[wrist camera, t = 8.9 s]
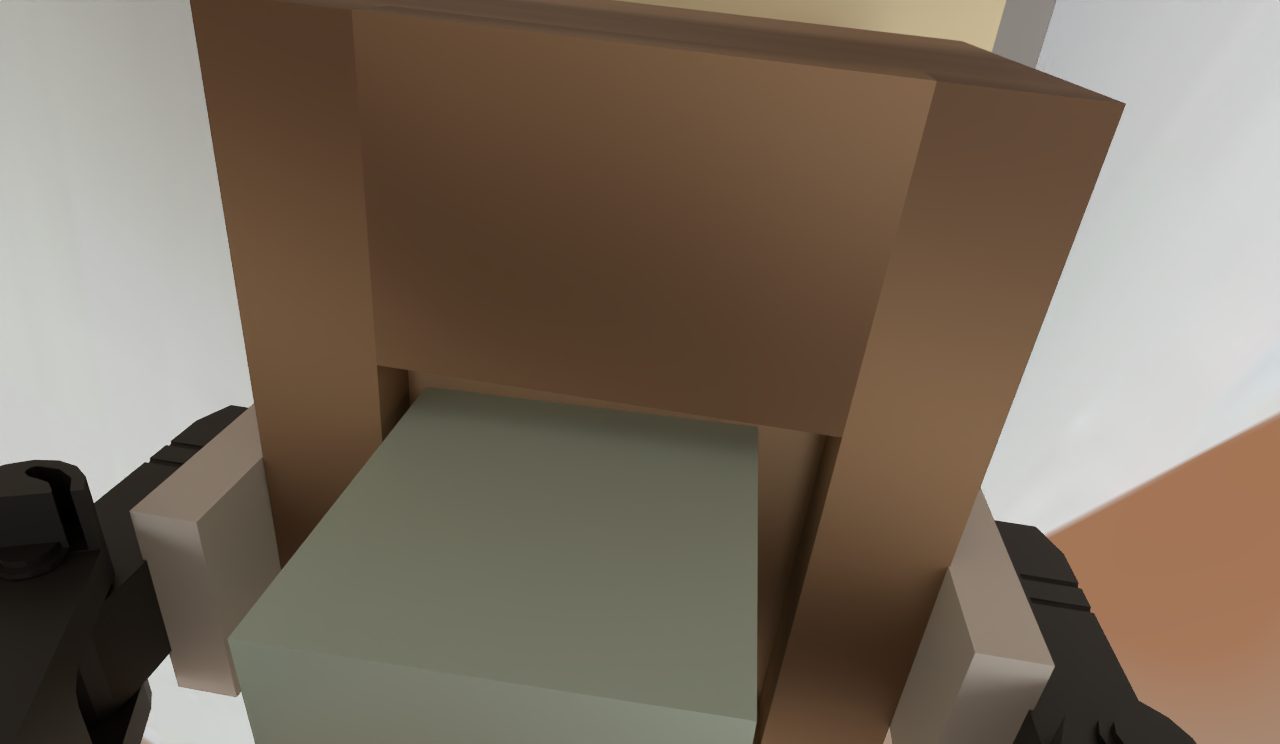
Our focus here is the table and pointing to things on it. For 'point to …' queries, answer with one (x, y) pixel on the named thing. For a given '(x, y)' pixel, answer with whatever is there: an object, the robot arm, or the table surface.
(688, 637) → the block
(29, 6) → the table surface
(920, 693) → the robot arm
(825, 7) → the panel
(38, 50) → the table surface
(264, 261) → the brown open box
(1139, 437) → the table surface
